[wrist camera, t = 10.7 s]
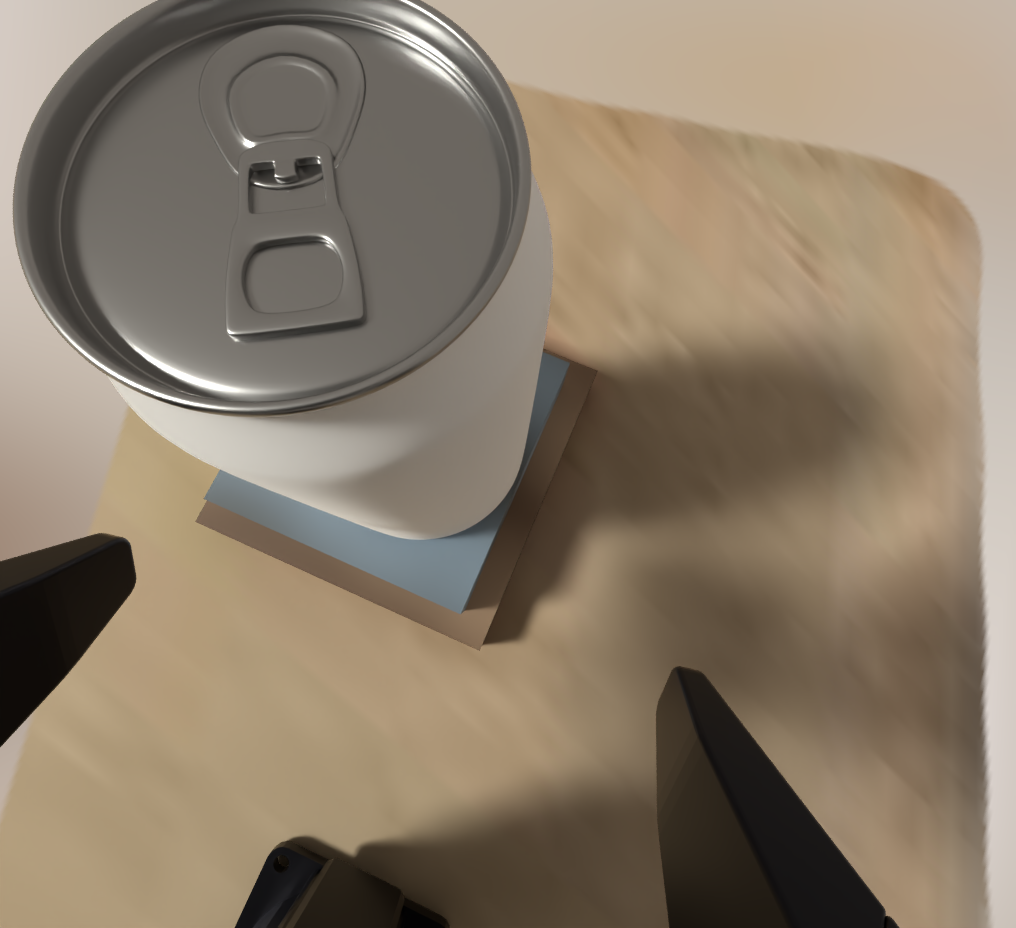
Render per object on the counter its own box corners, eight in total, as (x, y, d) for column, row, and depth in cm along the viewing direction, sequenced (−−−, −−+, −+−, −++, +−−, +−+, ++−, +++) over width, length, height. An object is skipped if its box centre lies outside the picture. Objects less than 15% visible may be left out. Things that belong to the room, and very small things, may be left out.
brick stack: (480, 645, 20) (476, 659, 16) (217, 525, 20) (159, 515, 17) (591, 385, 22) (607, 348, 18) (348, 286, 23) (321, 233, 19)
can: (509, 339, 18) (524, -86, 7) (538, 526, 17) (621, 410, 5) (320, 363, 18) (-15, -34, 6) (334, 555, 17) (-55, 501, 5)
